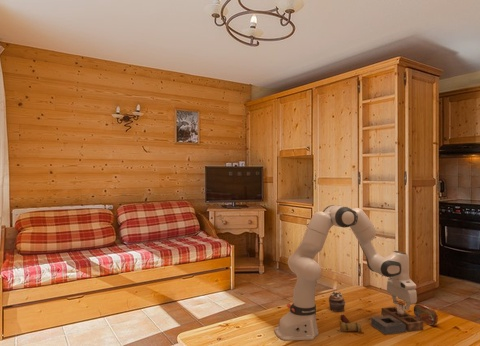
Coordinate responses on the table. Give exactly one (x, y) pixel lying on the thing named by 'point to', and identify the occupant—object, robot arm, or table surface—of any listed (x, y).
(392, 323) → the socket block
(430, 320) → the tin
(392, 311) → the tool rack
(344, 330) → the gavel
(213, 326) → the table surface
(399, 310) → the round peg
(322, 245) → the robot arm
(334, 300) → the cupcake
